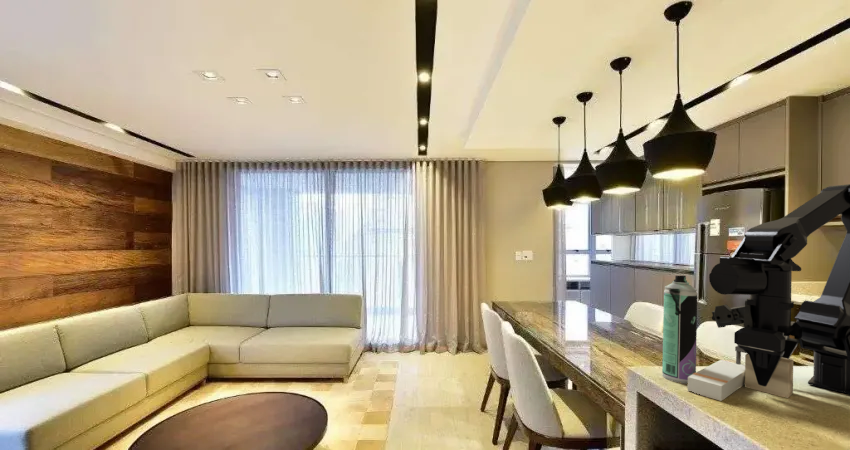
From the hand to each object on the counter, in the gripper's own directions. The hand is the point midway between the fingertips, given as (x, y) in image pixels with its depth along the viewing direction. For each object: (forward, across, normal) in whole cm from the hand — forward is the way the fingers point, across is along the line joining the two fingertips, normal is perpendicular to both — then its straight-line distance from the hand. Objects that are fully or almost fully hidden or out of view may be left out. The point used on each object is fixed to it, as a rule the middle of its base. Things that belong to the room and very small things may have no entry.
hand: (768, 380), depth 73 cm
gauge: (+2, 0, 0) cm, 2 cm away
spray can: (+2, +8, -12) cm, 14 cm away
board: (+2, +5, -6) cm, 8 cm away
